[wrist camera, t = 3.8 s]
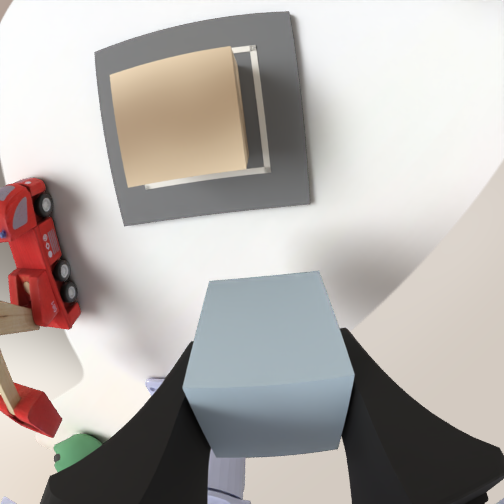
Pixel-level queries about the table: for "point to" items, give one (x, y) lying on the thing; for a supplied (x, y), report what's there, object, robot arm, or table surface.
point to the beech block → (180, 117)
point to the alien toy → (74, 450)
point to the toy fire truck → (32, 293)
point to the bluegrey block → (269, 367)
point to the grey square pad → (255, 114)
